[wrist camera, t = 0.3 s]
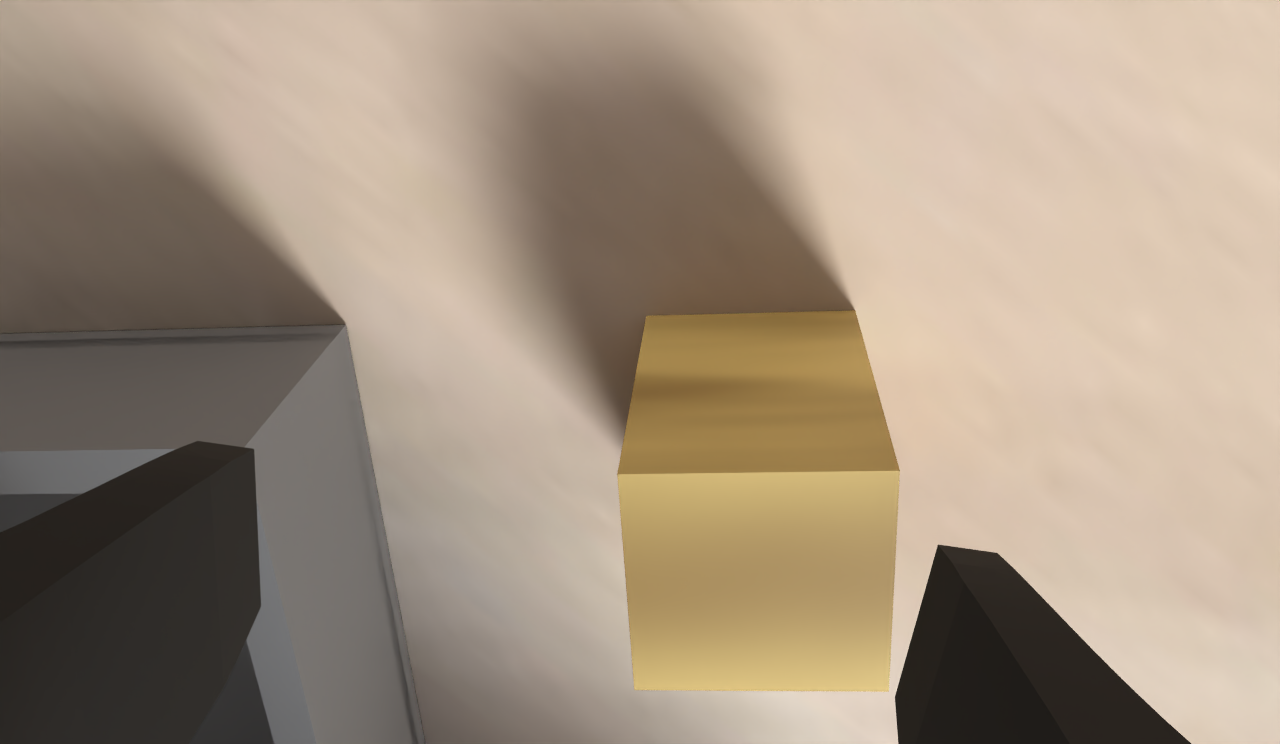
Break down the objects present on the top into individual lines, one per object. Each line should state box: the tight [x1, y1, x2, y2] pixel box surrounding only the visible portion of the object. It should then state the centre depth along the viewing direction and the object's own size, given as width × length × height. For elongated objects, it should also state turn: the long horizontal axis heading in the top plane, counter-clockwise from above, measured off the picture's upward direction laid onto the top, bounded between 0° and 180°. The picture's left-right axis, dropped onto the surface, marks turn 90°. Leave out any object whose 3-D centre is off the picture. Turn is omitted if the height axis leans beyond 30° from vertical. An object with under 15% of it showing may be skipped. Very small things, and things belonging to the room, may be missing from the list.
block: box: [617, 310, 900, 692], centre depth 19 cm, size 4×4×6 cm
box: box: [0, 325, 425, 744], centre depth 23 cm, size 14×12×5 cm
